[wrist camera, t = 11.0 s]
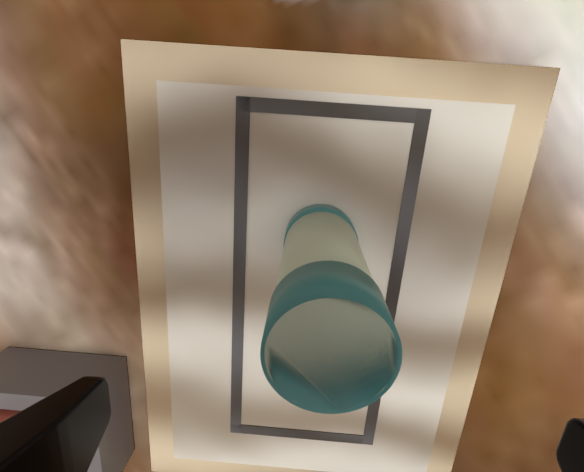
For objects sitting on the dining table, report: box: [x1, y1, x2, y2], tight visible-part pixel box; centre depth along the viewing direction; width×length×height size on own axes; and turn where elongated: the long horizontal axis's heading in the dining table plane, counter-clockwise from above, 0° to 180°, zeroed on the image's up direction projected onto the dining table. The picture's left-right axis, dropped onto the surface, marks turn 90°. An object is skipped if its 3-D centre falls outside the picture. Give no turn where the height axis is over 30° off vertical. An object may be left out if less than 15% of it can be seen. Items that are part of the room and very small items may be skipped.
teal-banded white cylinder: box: [260, 204, 403, 414], centre depth 13 cm, size 3×3×9 cm
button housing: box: [0, 347, 135, 472], centre depth 21 cm, size 7×7×4 cm
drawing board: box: [121, 39, 560, 472], centre depth 19 cm, size 24×18×1 cm
